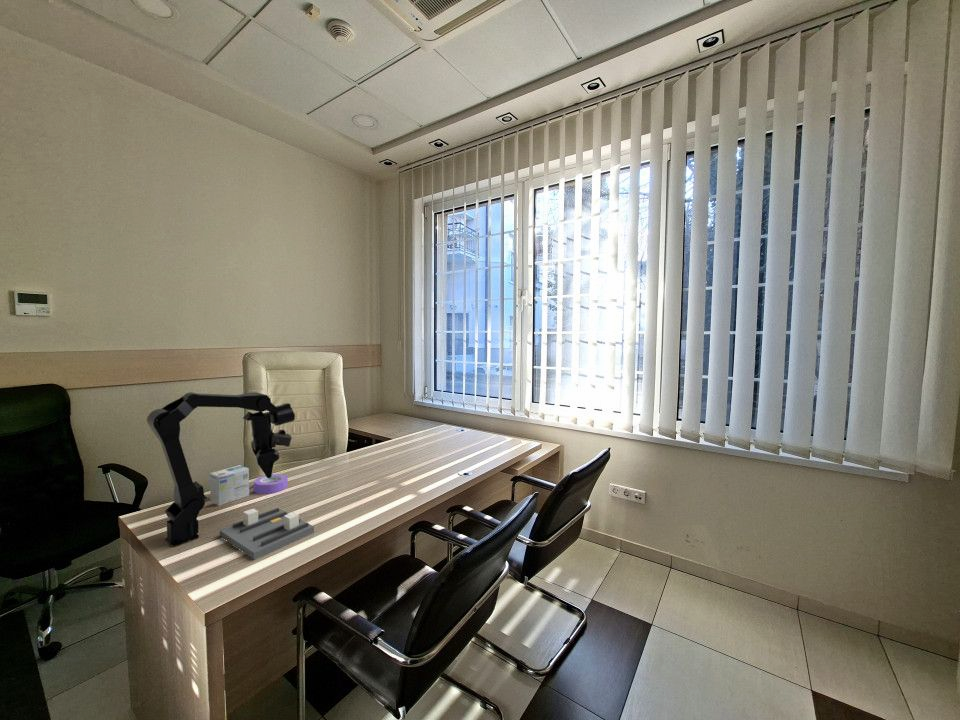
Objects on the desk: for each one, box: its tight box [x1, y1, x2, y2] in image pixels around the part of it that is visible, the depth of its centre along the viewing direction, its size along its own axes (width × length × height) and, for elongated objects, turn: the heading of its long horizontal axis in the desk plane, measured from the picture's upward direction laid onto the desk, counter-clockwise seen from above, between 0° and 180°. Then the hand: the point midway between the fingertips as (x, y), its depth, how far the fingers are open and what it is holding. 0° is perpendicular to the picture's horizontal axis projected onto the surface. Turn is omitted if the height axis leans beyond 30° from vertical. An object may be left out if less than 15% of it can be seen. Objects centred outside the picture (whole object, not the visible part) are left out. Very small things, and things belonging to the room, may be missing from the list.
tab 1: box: [242, 508, 259, 526], centre depth 118 cm, size 3×3×4 cm
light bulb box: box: [209, 464, 250, 507], centre depth 139 cm, size 11×7×11 cm, turn 149°
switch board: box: [219, 507, 315, 561], centre depth 117 cm, size 18×20×3 cm
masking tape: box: [253, 473, 289, 495], centre depth 150 cm, size 12×12×4 cm
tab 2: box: [284, 511, 300, 530], centre depth 117 cm, size 3×3×4 cm
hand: (267, 473), depth 131 cm, fingers open, 9 cm apart
